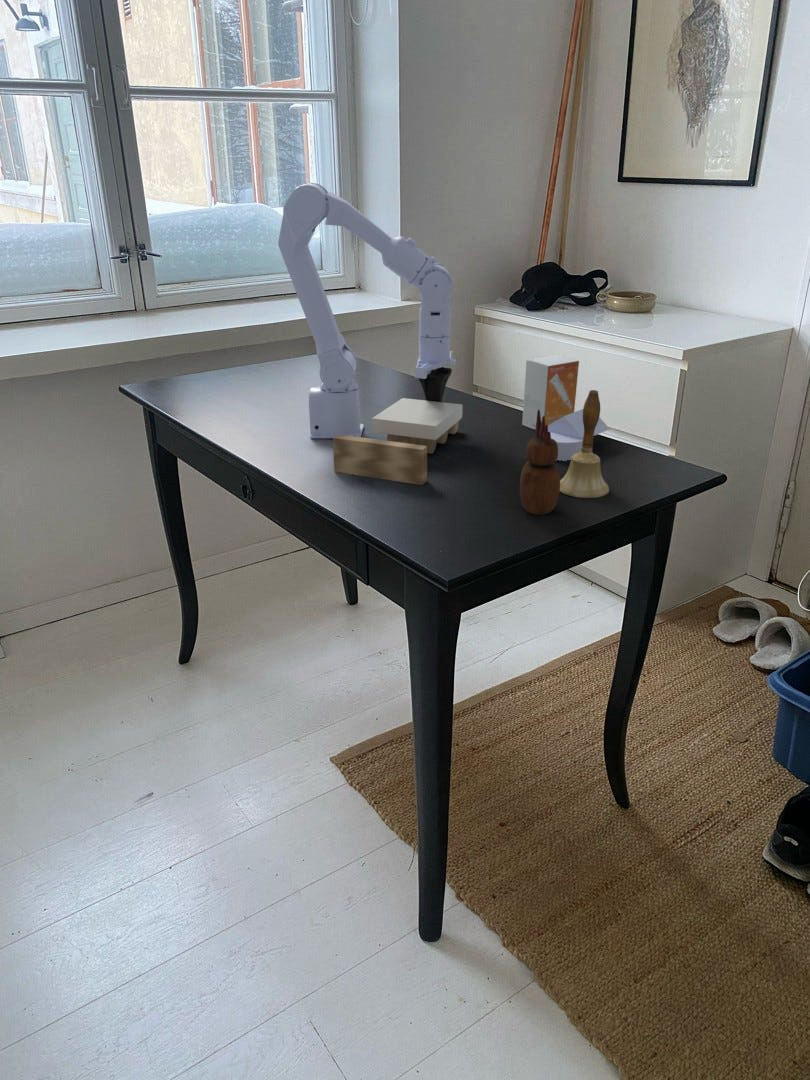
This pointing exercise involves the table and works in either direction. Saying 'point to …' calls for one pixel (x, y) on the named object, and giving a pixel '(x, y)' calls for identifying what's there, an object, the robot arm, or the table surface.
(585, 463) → the hand bell
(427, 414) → the slab
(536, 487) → the wooden figurine
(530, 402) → the small box
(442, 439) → the roller track
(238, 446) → the table surface
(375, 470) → the block
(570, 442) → the wedge on round base
